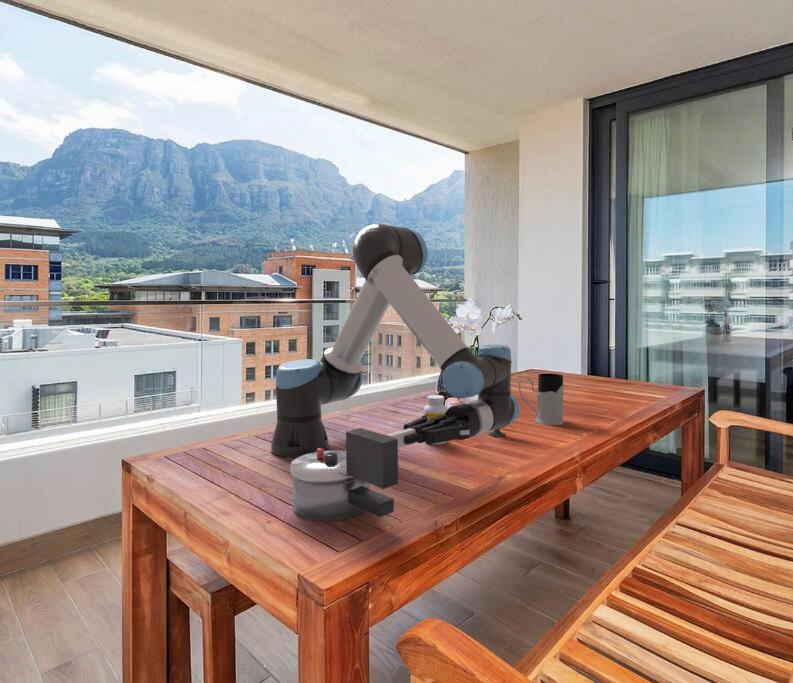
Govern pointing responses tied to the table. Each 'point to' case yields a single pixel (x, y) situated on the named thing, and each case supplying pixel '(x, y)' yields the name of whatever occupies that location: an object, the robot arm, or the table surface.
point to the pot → (338, 500)
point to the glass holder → (548, 399)
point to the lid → (352, 461)
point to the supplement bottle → (435, 409)
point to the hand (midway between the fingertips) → (388, 442)
